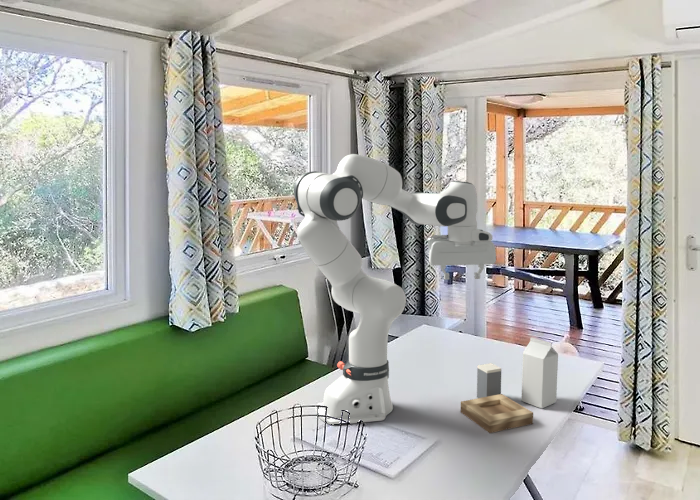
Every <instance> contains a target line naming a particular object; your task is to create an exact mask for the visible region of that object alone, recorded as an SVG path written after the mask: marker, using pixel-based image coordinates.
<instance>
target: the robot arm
mask: <svg viewBox="0 0 700 500" xmlns="http://www.w3.org/2000/svg"><path fill="white" fill-rule="evenodd" d="M476 188H477V187H476V186H475V184H473V183H472V182H468V181H461V180H460V181H459V180H458V181H456V180H454V181H451V182H449V185H448V187H446V188H445V189H444V190H442V191H440V192H439V193H433V192H432V193H431V192H429V193H428V192H421V191H420V192H419V191H416V192H409V191H407V190H406V189H403V177H402V175H401V173H400V172H399V171H398V170H397V169H395V168H393V166H391V165H389V164H387V163H384V162H383V161H380V160H378V159H375V158H373V157H370V156H366V155H362V154H358V153H357V154H356V153H350V154H347V155H346V156H343V158H342V159H341V160H340V161H339V163H338V165H337V168H336V170H335V172H333V173H332V174H331V173H327V172H320V171H316V170H315V171H307V172H305V173H303V174H301V175H300V176H299V177H298V178H297V179H296V180H295V183H294V185H293V195H294V199H295V202H296V203H297V211H298V214H299V215H301V216H302V217H304V218H303V219H302V221H300V223H299V225H298V227H297V230H296V235H297V239H298V240H299V243H300V245H301V247H302V248H303V250H304V252H305V253H306V255H307V256H308V257H309V259H310V260H311V261H312V263H314V264H313V265H315V266H316V267H317V269H318V270H320V272H321V273H322V274H323V275H324V277H325V278H326V279H327V281H328V282H329V283H330V285H331V292H330V293H331V297H332V300H333V301H334V303H336V304H337V305H338V306H341V308H343V309H345V310H346V311H350V312H353V313H356V314H359V320H358V325H357V327H356V328H355V329H353V330H352V331H351V332H350V333H349V336H348V360H347V362H346V363H344V362H343V361H341V360H340V361H338V363H337V364H336V366H337V368H338V369H339V370H341V371H342V374H341V375H340V376H339V377H338V378H336V379H335V381H333V382H331V384H329V386H327V387H326V388H325V390H324V392H323V393H324V394H323V399H322V400H323V401H322V402H318V403H317V404H316V405H325V406H327V407H328V408H327V415H328V416H332V417H335V418H339V419H340V418H341V413H342V411H341V410H348V411H349V412H350V415H349V417H350V418H349V421H350V424H357V422H358V421H359V420H360V419H361V420H362V421H363V422H362V423H369V422H380V421H384V420H385V419H386V417H387V416H388V415H389V414H391V412H392V411H393V409H394V406H393V402H392V399H391V394H390V387H389V378H390V377H389V376H390V365H389V363H390V362H389V360H388V342H389V340H388V339H389V332H390V329H391V327H392V324H393V322H394V321H395V320H396V319H398V318H399V317H400V316H401V315H402V313H403V312H404V309H405V308H406V303H407V296H406V293H405V290H404V289H403V288H402V287H401V286H400V285H397V284H396V283H394V282H393V281H390V280H388V279H384V278H378V277H374V276H371V275H369V274H368V273H366V272H365V271H364V270H363V269H362V265H363V258H362V256H361V254H360V253H359V252H358V250H357V249H356V247H355V246H354V245H353V244H352V243H351V241H350V240H349V238H348V237H347V236H346V234H344V232H343V231H342V230H341V228H340V227H339V224H338V221H339V222H341V221H347V220H348V219H350V218H352V217H353V216H354V215H355V214H356V213H357V211H358V209H359V208H360V204H361V201H362V200H365V201H367V202H371V203H373V204H376V205H381V206H388V207H389V208H392V209H394V210H397V211H399V212H400V213H401V214H403V216H404V217H405V218H406V219H407V220H408V221H409V222H410V223H412V224H413V225H418V226H419V225H420V226H421V225H424V226H425V225H426V226H436V227H447V234H441V235H440V234H439V235H438V234H436V235H435V234H434V235H432V236H431V237H429V238H428V241H427V247H428V249H429V254H428V262H429V264H430V265H431V266H439V268H440V270H441V272H442V273H443V279H444V280H447V281H448V280H450V273H449V272H446V270H445V269H446V268H447V266H469V265H470V266H474V265H475V266H476V265H477V266H478V269H477V271H476V272H474V273H473V274H474V276H473V277H474V279H475V280H480V279H481V274H482V272H483V270H484V269H485V265H494V264H495V263H496V262H497V252H496V246H495V243H494V242H493V241H492V240H493V234H492V233H490V232H488V231H485V230H483V229H478V222H477V218H476V217H477V212H478V195H477V189H476ZM325 411H326V410H325V408H319V409H318V413H319V415H325ZM315 413H317V409H316V408H315ZM318 418H319V419H320V420H321V421H322V422H325V418H324V417H318ZM342 418H343V420H346V421H347V420H348V413H347V412H345V411H343V417H342ZM339 422H340V421H338V420H335V419H332V418H327V423H326V422H325V423H326V424H328V425H331V424H332V426H335V425H334V424H339Z"/></svg>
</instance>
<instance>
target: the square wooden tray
mask: <svg viewBox="0 0 700 500" xmlns="http://www.w3.org/2000/svg"><path fill="white" fill-rule="evenodd" d="M460 413H461V414H462V415H463V416H466V418H468V419H469V420H471V421H472V422H473V423H474V424H476V425H478V426H479V427H480V428H482V429H483V430H484V431H486V432H487V433H489V434H492V433H497V432H501V431H506V430H510V429H515V428H520V427H525V426H529V425H533V424H534V411H532V410H530V409H528V408H526V407H524V406H523V405H521V404H519V403H518V402H516V401H514V400H513V399H511V398H509V397H508V396H506V395H505V394H502V393H501V394H499V395H493V396H488V397H483V398H478V397H476V398H473V399H467V400H463V401H462V400H461V401H460Z"/></svg>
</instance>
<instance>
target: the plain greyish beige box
mask: <svg viewBox="0 0 700 500" xmlns="http://www.w3.org/2000/svg"><path fill="white" fill-rule="evenodd" d="M476 370H477V375H476V398H483V397H488V396H493V395H499V394H502V393H501V392H502V367H500V366H498V365H496V364H494V363H492V362H490V363H484V364H478V365H477V369H476Z"/></svg>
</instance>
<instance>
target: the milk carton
mask: <svg viewBox="0 0 700 500" xmlns="http://www.w3.org/2000/svg"><path fill="white" fill-rule="evenodd" d="M552 344H553V343H552V342H549V341H546V340H542V339H538V338H536V337H535V338H534V337H530V341H529V343H528V344H527V345H526V347H525V349H524V350H523V352H522V369H521V370H522V372H521V375H522V376H521V401H522V402H524V403H525V404H529V405H532V406H534V407H536V408H538V409H544V408H546V407H549V406H551V405H553V404H555V403H557V394H558V393H557V390H558V387H557V386H558V370H559V369H558V368H559V352H557V351H556V350H555V349H554V347H553V346H552Z"/></svg>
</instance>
